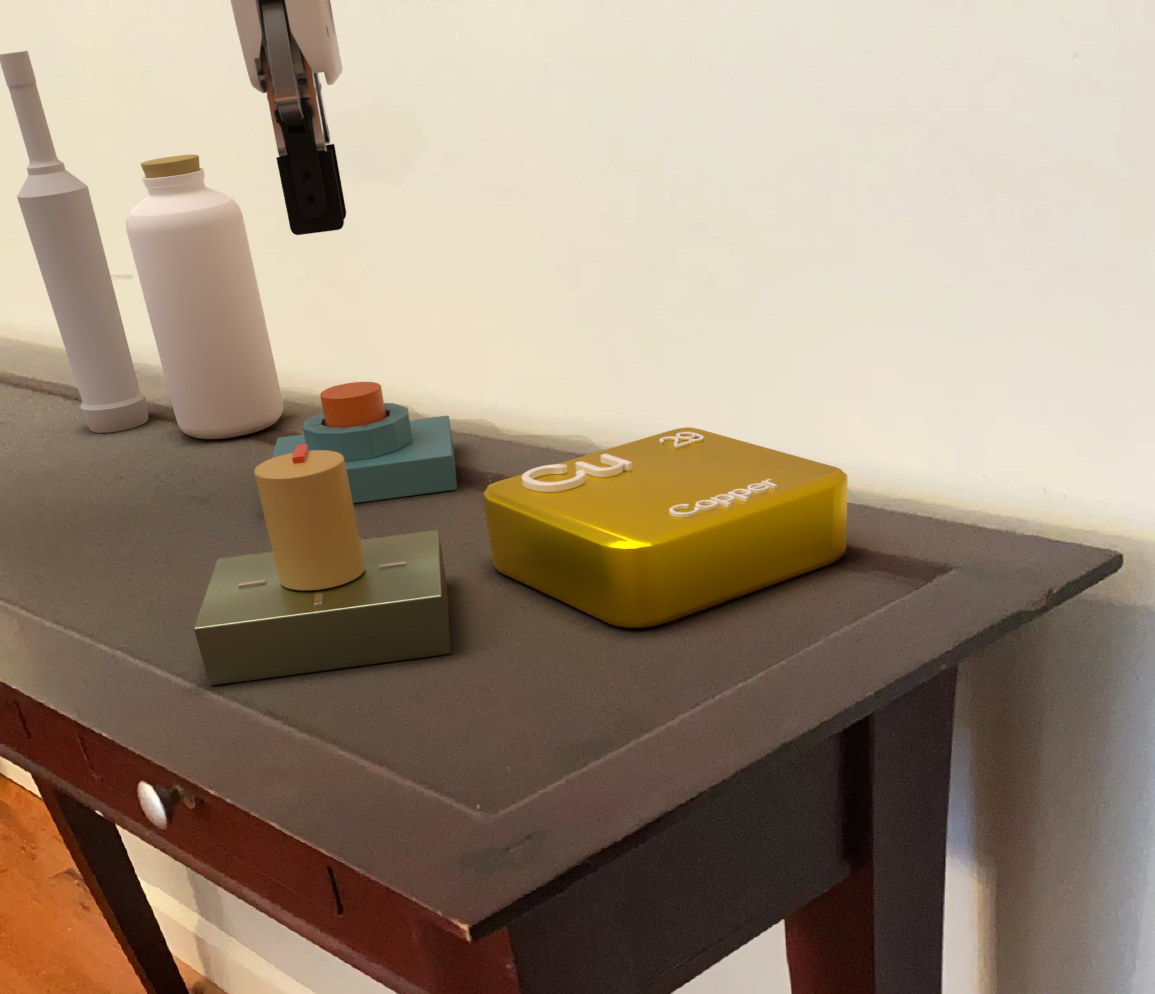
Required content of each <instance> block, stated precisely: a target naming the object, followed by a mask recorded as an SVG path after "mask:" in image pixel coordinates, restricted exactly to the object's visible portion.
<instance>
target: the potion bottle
mask: <svg viewBox="0 0 1155 994" xmlns="http://www.w3.org/2000/svg"><path fill="white" fill-rule="evenodd" d="M140 166H141V169H142V171H143V173H144V176H143V177H142V178H141V179H142V182H143V185H144V186H145V188H146V189H147V193H148V194H147V196H145V198H143V199H141V201H140V202H139V203H137V204H136V205H135V206H134V207H133V208H132V209H131V211H129V212H128V215H127V218H126V220H125V227H126V229H125V230H126V234H127V238H128V242H129V245H130V249H131V254H132V257H133V261H134V265H135V269H136V271H137V277H138V279H139V283H140V288H141V290H142V294H143V299H144V302H145V307H146V311H147V314H148V318H149V322H150V326H151V329H152V334H153V337H154V341H155V345H156V348H157V353H158V356H159V359H160V360H159V361H160V364H161V368H162V371H163V376H164V379H165V382H166V387H167V390H168V394H169V397H170V401H171V406H172V409H173V413H174V416H175V421H176V423H177V426H178V427H179V429H180V431H182V432H183V434H186V435H187V436H190V437H192V438H195V439H200V440H201V439H202V440H224V439H232V438H233V439H234V438H236V437H243V436H249V435H250V434H255V433H259V432H261V431H263V430H265V429H268V428H270V427H271V426H273V425H274V424H276V423H277V422H278V421H279V419H280V418H281V416H282V414H283V412H284V409H285V406H284V400H283V396H282V391H281V387H280V383H279V382H280V381H279V377H278V372H277V369H276V363H275V359H274V355H273V350H272V349H273V348H272V345H271V340H270V335H269V332H268V327H267V321H266V318H265V313H264V307H263V304H262V299H261V294H260V290H259V289H260V288H259V284H258V281H257V276H256V271H255V266H254V261H253V257H252V252H251V248H250V243H249V239H248V238H249V237H248V234H247V229H246V224H245V220H244V216H243V212H242V210H241V207H240V205H239V204H238V203H237V202H236V201H235V200H234V199H233V198H232V197H230V196H228V195H226V194H224V193H223V192H220V191H218V190H215V189H213V188H210V187H208V186H206V185H205V177H206V176H205V169H204V168H201V167H200V156H199V154H181V155H174V156H165V157H160V158H159V157H158V158H153V159H150V160H145V161H142V162H141V163H140Z"/></svg>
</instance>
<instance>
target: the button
mask: <svg viewBox="0 0 1155 994" xmlns="http://www.w3.org/2000/svg"><path fill="white" fill-rule="evenodd" d="M319 397H320V402H321V408H322V412H324V417H325V423H326V426H327V427H332V428H347V427H355V426H362V425H367V424H371V423H374V422H378V421H381V420H383V419H385V418H387V417H386V412H385V406H384V403H385V400H384V396H383V389H382V385H381V384H380V383H378V382H376V381H375V382H374V381H354V382H347V383H341V384H337V385H334V386H330V387H327V388H326V389H324V390H322V391H320V393H319Z"/></svg>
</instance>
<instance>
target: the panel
mask: <svg viewBox="0 0 1155 994" xmlns="http://www.w3.org/2000/svg"><path fill="white" fill-rule="evenodd" d="M360 542H361V547H362V552H363V557H364V563H365V570H364V572H363V574H362V575H360V576H359V577H358V578H356V579H354V580H352V581H350V582H348V583H345V584H342V585H339V586H336V587H332V588H327V589H320V590H293V589H289V588H286V587H284V586H283V585H281V583H280V581H279V577H278V573H277V569H276V565H275V560H274V556H273V552H272V551H268V552H259V553H252V554H245V555H237V556H229V557H222V558H217V559H216V561H215V565H214V567H213V571H212V574H211V577H210V579H209V582H208V585H207V589H206V591H205V595H204V598H203V601H202V603H201V607H200V609H199V612H198V616H197V620H196V622H195V625H194V629H193V630H194V633H195V638H196V641H197V645H198V648H199V652H200V655H201V659H202V663H203V666H204V669H205V673H206V677H207V681H208V684H209V686H213V687H214V686H220V685H228V684H235V683H243V682H250V681H258V680H265V679H273V678H279V677H288V676H295V675H302V674H311V673H317V672H325V671H326V672H327V671H333V670H340V669H347V668H355V667H362V666H369V665H377V664H384V663H385V664H386V663H392V662H400V661H409V660H415V659H422V658H430V657H436V656H437V657H438V656H445V655H450V654H451V653H452V650H451V649H452V648H451V631H450V613H449V597H448V595H449V594H448V581H447V574H446V568H445V563H444V562H445V561H444V556H443V549H442V544H441V543H442V542H441V537H440V531H439V530H438V529H434V530H426V531H425V530H424V531H419V532H411V533H405V534H397V535H389V536H382V537H374V538H366V539H360Z"/></svg>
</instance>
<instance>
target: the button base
mask: <svg viewBox="0 0 1155 994" xmlns="http://www.w3.org/2000/svg"><path fill="white" fill-rule="evenodd" d="M384 406H385V412H386V417H387V418H385V419H383V420H381V421H378V422H374V423H371V424H367V425H362V426H355V427H347V428H332V427H327V426H326V423H325V417H324V412H323V411H321V412H319V413H317V414H315V415H313V416H311V417H309V418H307V419H305V420H304V422H303V426H302V432H303V434H295V435H288V436H281V437H277V438H276V442H275V445H274V449H273V452H272V455H271V456H272V457H271V459H272V458H275V457H278V456H281V455H285V454H289V453H294V451H295V448H296V446H297V445H305V444H307V445H308V451H311V450H327V451H334V452H338V453H340V454H342V455H343V457H344V460H345V465H346V470H347V475H348V480H349V485H350V490H351V496H352V501H353V504H359V503H366V502H367V503H368V502H374V501H375V502H376V501H382V500H390V499H397V498H406V497H414V496H419V495H427V494H434V493H435V494H437V493H442V492H443V493H444V492H450V491H457V490H458V484H457V472H456V471H457V470H456V461H455V449H454V442H453V434H452V427H451V420H450V416H449V415H448V414H447V415H441V416H432V417H425V418H419V419H418V418H417V419H410V413H409V408H408V406H404V405H400V404H397V403H394V402H384Z"/></svg>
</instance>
